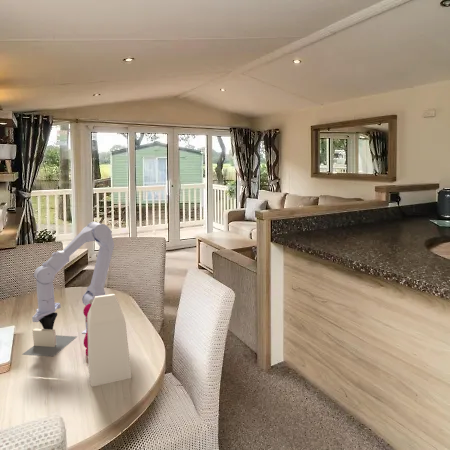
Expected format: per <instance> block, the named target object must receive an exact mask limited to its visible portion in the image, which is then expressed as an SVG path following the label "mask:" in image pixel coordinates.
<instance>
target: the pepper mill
mask: <svg viewBox="0 0 450 450" xmlns="http://www.w3.org/2000/svg"><path fill="white" fill-rule="evenodd" d="M92 302H93V299H91V300H90V301H89V303H90V304H88V305H86V306H84V307H83V310H82V313H83V315H84V320H85V319H86V323H87V315H88V312H89V309H90V307H91V305H92ZM85 316H86V318H85ZM86 323H85V324H86ZM83 347H85V355H86V356H87V357H88V329H87V333H86V334H85V336H84V339H83Z"/></svg>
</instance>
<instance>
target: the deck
mask: <svg viewBox="0 0 450 450" xmlns="http://www.w3.org/2000/svg"><path fill="white" fill-rule="evenodd" d="M32 336H33V337H32V338H33V346H47V347H54V346H56V329H53V330H52V329H43V328H33V330H32Z"/></svg>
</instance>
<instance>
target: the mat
mask: <svg viewBox="0 0 450 450" xmlns="http://www.w3.org/2000/svg"><path fill="white" fill-rule="evenodd" d="M76 338H77V336H75V335H73V336H72V335H58V334H57V335H56V346H54V347H47V346H34V345H33V346H31V347H30V348H29V349H27V350H26V351H24V352H22V355H26V356H39V357H55V356H56V355H57V354H58V353H60V352H61V351H62V350H63V349H64V348H66V347H67V346H68V345H69V344H71V343H72V342H73V341H74V340H75V339H76Z"/></svg>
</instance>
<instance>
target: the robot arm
mask: <svg viewBox="0 0 450 450" xmlns="http://www.w3.org/2000/svg"><path fill="white" fill-rule="evenodd" d="M89 242H96V243H97V245H98V246H99V249H98V253H97V257H96V261H95V265H94V269H93V273H92V277H91V281H90V284H89V285H88V286H87V288H86V291H85V293H84V294H83V295H82V297H81V300H82V303H83V305H85V306H86V305H88V304H90V303H89V301H90V300H91V299H93V300H94V297H95V296H102V295H106V291H105V284H106V279H107V277H108V276H107V275H108V273H109V272H108V271H109V267H110V264H111V259H112V255H113V253H114V252H113V251H114V247H115V242H114V239H113V234H112V230H111V228H109V226H108V225H107V224H105V223H99V222H98V221H91V222H89V223H88V224H87V225H86V226H84V227H83V228H82V229H81V231H80V232H79V233H78V234H76V236H75V237H74V238H73V239H72V240H71V241H70V242H69V243H68V244H67V246H65V248H63V250H57V251H56V252H55V251H54V252H52V253H51V256H50V257H49V258H48V259H47V260H46V261H45V262H43V263H41V266H38V267H37V268H35V270H34V272H33V278H34V279H35V280H36V281H35V282H36V299H37V309H36V310H35V314H33V315H32V316H31V320H32V323H38V322H39V323H40V324H41V326H42V329H52V330H54V325H55V321H56V318H57V316H58V312H56V311H57V309H58V310H59V309H60V308H61V303H60V302H55V300H56V299H55V289H54V281H55V278H56V275H57V273H58V272H60V271H61V270H62V269H63V268H64V267H65V266H66V265H67V264H68V263H69V262H70V257H71V256H72V255H73V254H74V253H75V252H76V251H77V250H79V249H80V248H81V247H82V246H83V245H85V244H86V243H89ZM85 306H84V307H85ZM85 318H86V316H85V315H84V320H85V329H84V330H83V331H82V332H81V334H83V335H84V334H85V335H86V333H87V329H88V327H87V323H86V319H85Z"/></svg>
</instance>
